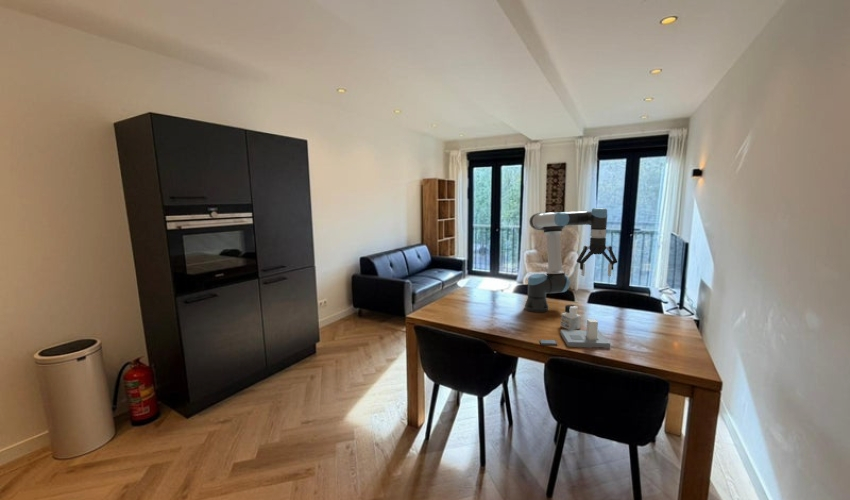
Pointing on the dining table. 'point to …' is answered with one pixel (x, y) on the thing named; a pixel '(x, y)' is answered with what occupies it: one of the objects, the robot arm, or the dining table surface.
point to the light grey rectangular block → (591, 329)
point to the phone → (548, 342)
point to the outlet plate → (583, 339)
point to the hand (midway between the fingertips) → (596, 275)
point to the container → (571, 318)
